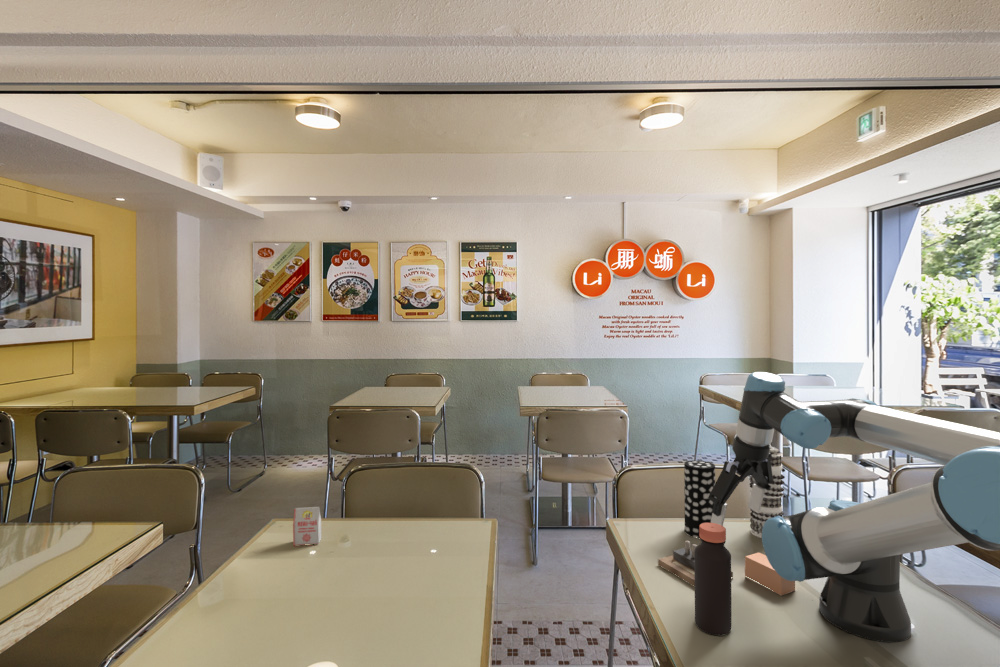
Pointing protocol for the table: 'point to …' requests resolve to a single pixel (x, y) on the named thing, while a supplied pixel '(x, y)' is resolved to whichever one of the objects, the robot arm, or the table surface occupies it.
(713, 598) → the bottle
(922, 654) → the table surface
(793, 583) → the block
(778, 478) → the decorative candle
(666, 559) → the pin board
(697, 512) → the white-spotted black cylinder
